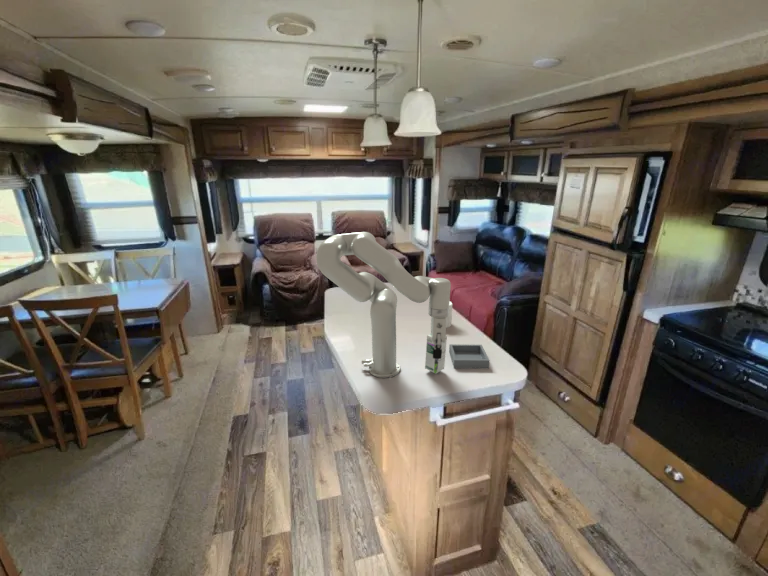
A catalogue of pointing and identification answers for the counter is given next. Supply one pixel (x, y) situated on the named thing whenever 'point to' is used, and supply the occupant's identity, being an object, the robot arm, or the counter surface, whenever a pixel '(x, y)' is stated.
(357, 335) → the counter surface
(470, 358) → the box
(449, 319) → the toilet paper
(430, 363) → the syrup box
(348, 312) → the counter surface
